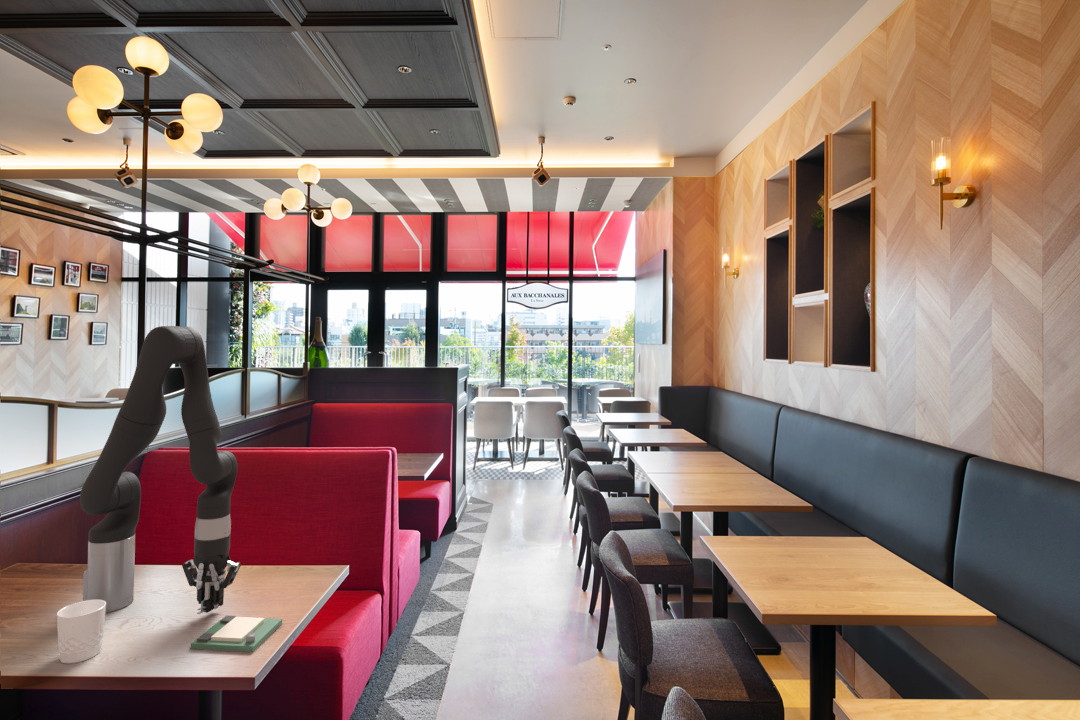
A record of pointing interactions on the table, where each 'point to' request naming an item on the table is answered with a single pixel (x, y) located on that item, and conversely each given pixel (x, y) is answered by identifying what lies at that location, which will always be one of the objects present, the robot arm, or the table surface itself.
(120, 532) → the robot arm
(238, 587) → the table surface
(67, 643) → the white cup
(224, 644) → the board
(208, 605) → the push button
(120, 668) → the table surface
